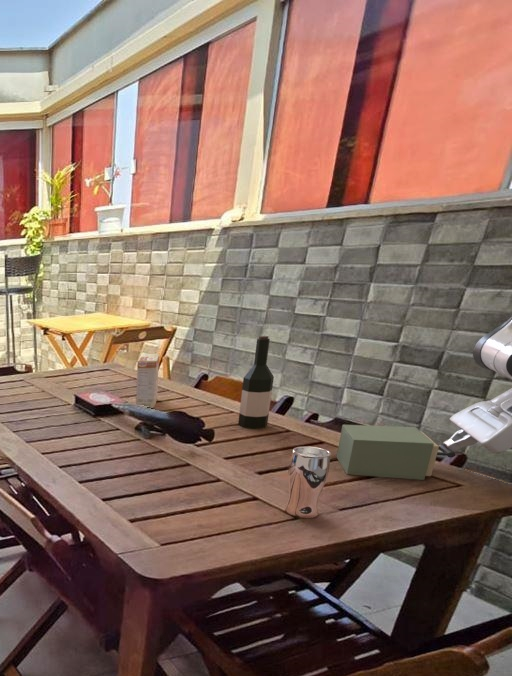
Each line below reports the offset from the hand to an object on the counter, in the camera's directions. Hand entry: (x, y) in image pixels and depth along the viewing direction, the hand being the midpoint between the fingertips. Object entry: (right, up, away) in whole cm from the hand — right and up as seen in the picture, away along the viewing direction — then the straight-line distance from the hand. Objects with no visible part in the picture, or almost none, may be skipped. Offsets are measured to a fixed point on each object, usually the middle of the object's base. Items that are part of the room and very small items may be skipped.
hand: (447, 447), depth 121 cm
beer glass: (-43, -15, -8) cm, 46 cm away
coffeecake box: (-35, +19, +83) cm, 92 cm away
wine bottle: (-16, +8, +47) cm, 50 cm away
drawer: (-7, -5, +6) cm, 10 cm away
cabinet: (-10, -5, +8) cm, 14 cm away
